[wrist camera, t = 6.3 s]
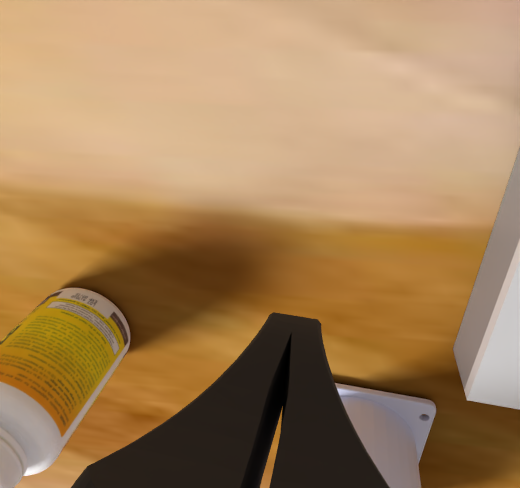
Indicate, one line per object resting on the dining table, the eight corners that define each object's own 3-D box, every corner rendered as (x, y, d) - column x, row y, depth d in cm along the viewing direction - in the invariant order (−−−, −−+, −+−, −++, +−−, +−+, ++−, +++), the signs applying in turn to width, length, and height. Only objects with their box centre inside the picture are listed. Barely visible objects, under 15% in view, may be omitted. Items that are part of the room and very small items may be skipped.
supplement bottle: (52, 267, 25) (-113, 409, 17) (143, 306, 26) (28, 468, 17) (41, 337, 28) (-104, 490, 19) (124, 372, 28) (17, 541, 19)
